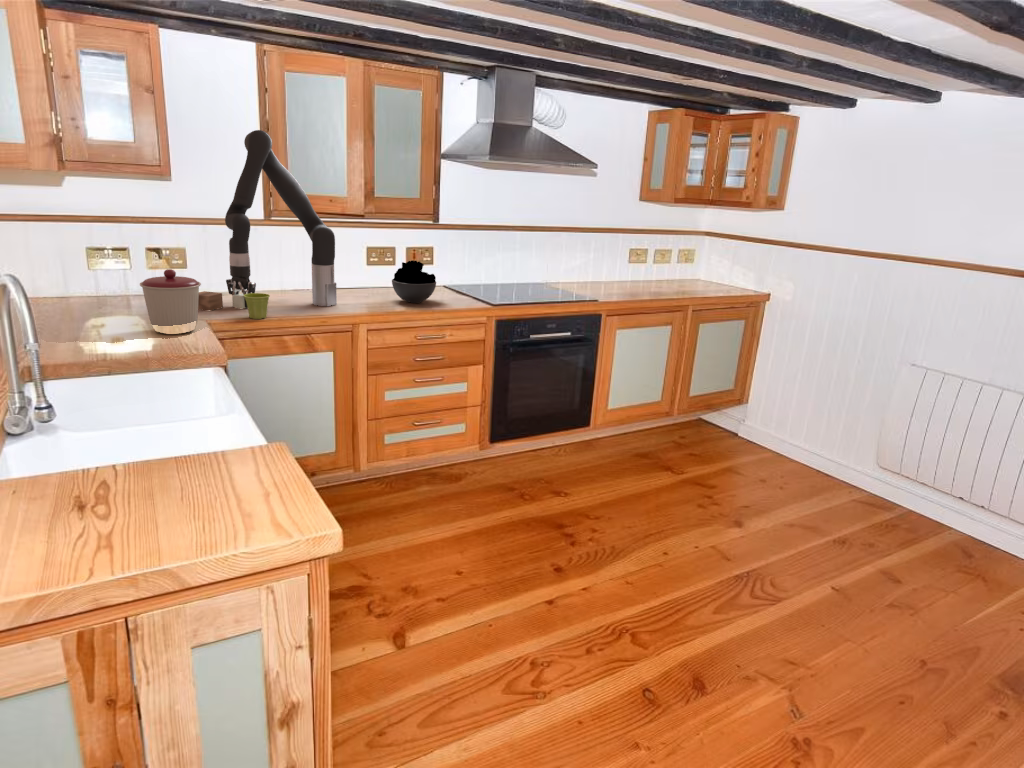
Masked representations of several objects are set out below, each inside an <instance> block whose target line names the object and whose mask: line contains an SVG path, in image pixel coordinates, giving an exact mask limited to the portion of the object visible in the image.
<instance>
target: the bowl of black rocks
mask: <svg viewBox="0 0 1024 768" xmlns="http://www.w3.org/2000/svg"><path fill="white" fill-rule="evenodd" d="M424 265H425V264H424V263H422V262H421V261H420V260H419V261H417V260H408V261H407V262H403V261H402V262H401V267H399V268H398V269H397V270H396V272H395V273H394V275H393V279H391V285H392V288H393V290H394V293H396V295H397V296H398V297H399V298H400V299H401V300H402V301H405V302H408V303H410V302H411V304H417V303H422V302H425V301H426V300H428V299H429V298H430V297H431V296H432V295H433V293H434V292H435V289H436V288H437V287H436V286H437V281H436V276H435V273H431V274H429V273H428V272H425V271H423V268H424Z"/></svg>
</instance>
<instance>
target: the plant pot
mask: <svg viewBox="0 0 1024 768" xmlns="http://www.w3.org/2000/svg"><path fill="white" fill-rule="evenodd" d="M243 296H244V297H245V300H246V303H247V307H248V308H247V311H248V316H249V318H250V319H253V320H261V319H266V318H267V316H268V304H269V301H270V296H271V295H270V294H269V293H261V292H255V293H252V292H251V293H250V294H247V293H246V294H245V295H243Z"/></svg>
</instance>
